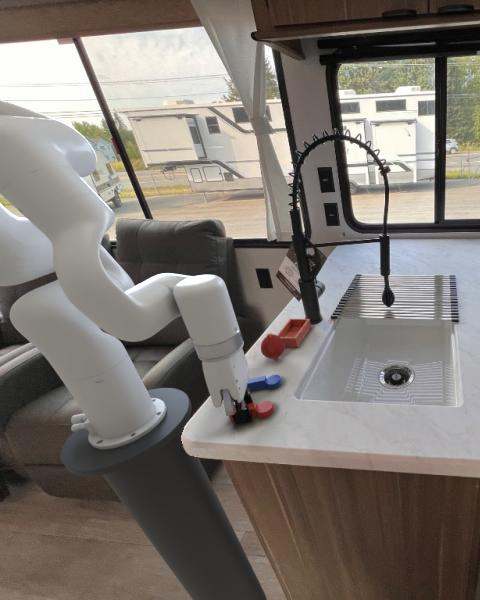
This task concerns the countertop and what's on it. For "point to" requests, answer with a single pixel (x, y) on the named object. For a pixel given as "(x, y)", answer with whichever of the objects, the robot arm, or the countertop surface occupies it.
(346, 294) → the countertop surface
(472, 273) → the countertop surface
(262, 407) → the red spoon
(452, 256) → the countertop surface
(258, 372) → the countertop surface
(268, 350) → the onion
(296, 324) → the red tub
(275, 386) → the blue spoon
